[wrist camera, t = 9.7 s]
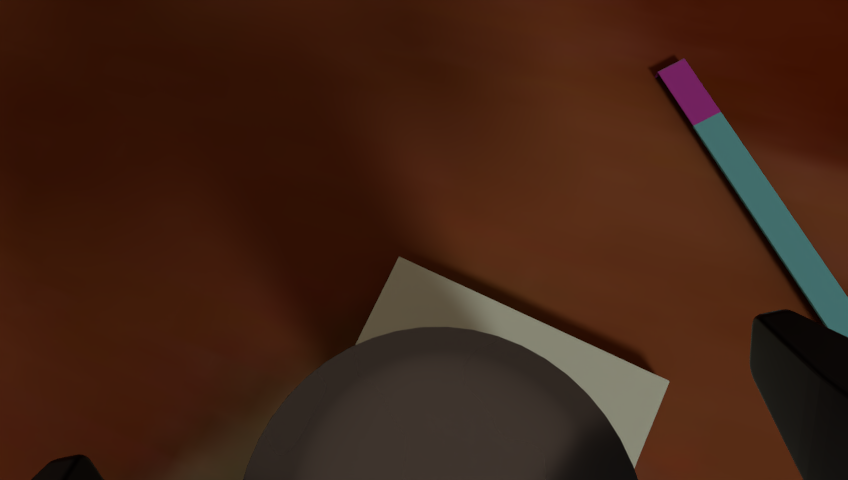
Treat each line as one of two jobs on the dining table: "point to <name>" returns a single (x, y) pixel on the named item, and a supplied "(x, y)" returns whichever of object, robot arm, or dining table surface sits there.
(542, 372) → the steel canister
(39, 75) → the dining table surface
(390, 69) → the dining table surface
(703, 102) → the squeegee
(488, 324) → the sage board
